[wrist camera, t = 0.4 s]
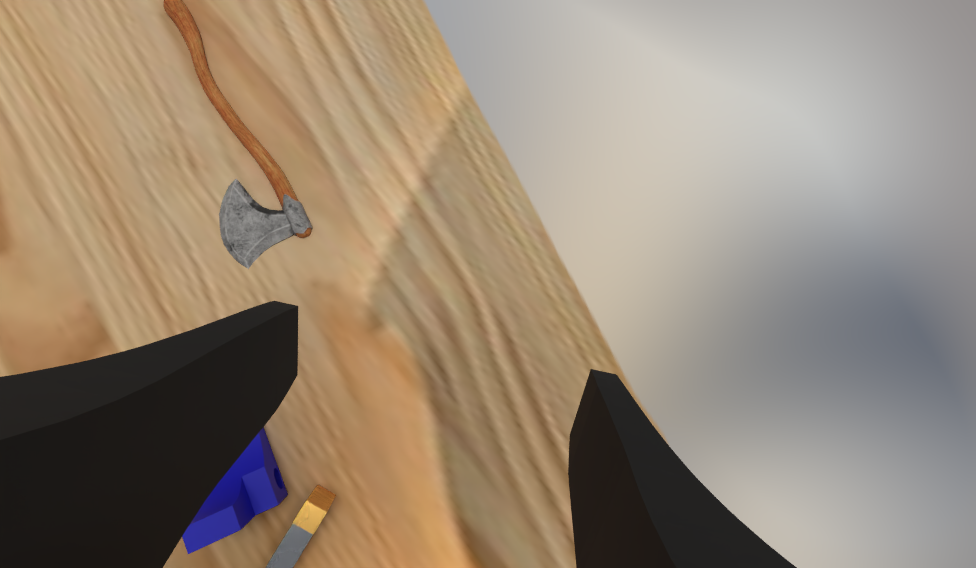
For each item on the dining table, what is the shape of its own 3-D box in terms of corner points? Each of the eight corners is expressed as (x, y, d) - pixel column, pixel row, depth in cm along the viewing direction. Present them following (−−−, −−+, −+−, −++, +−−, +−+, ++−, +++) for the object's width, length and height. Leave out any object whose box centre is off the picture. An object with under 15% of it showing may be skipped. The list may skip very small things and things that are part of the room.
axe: (101, 27, 39) (89, 12, 37) (184, 1, 41) (176, -15, 39) (239, 272, 38) (233, 267, 36) (318, 234, 40) (315, 228, 38)
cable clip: (288, 493, 36) (266, 517, 30) (224, 523, 35) (188, 554, 29) (231, 338, 37) (199, 332, 31) (167, 362, 36) (122, 361, 30)
